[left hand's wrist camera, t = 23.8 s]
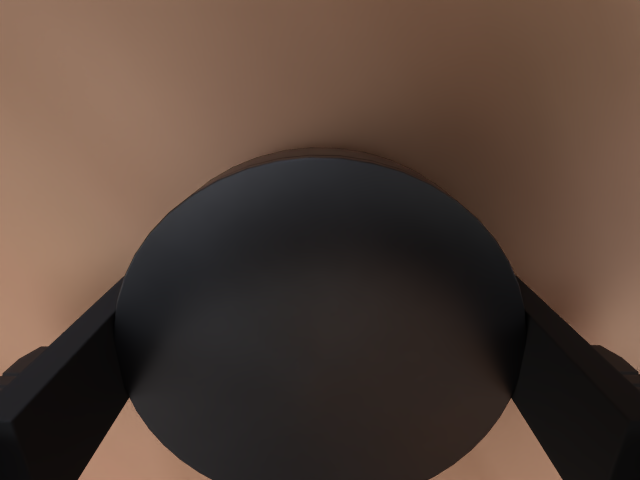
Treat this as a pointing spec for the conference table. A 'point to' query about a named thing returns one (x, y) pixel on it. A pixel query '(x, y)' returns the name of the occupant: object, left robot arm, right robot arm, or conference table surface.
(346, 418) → the lid
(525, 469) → the conference table surface
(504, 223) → the conference table surface
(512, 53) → the conference table surface
